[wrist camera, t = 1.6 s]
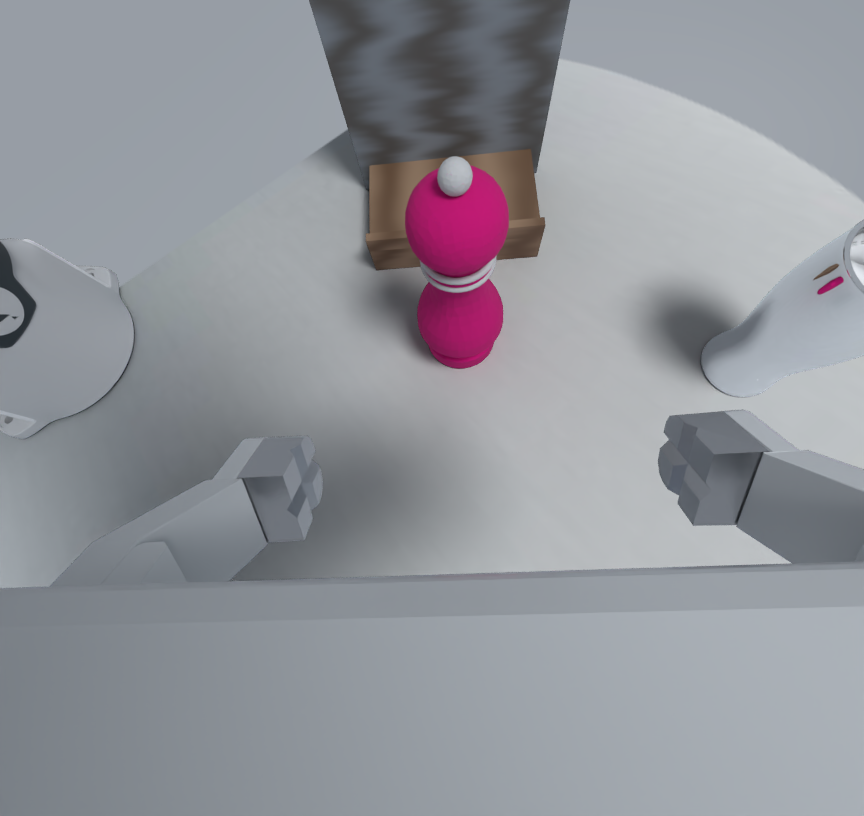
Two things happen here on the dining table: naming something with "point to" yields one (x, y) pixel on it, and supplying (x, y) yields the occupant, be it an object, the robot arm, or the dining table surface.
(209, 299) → the dining table surface
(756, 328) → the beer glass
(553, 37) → the ledge shelf
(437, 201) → the pepper mill
